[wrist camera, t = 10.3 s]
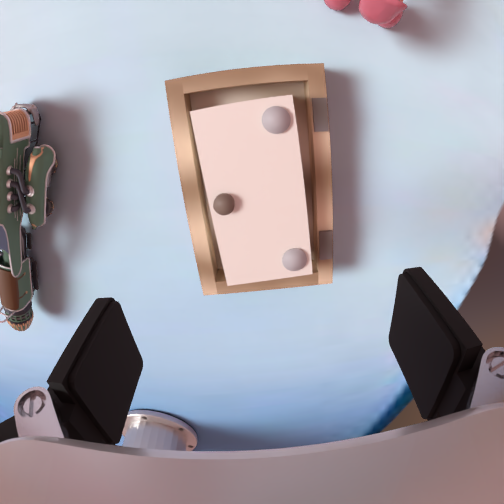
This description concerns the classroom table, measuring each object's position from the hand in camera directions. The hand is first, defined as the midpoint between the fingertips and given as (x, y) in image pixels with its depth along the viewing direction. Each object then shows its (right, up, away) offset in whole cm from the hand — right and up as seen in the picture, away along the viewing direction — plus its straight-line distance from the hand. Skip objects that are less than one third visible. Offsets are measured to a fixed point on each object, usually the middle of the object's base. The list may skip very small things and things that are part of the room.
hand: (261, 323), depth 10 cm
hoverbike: (-24, +5, +17) cm, 30 cm away
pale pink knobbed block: (0, +8, +15) cm, 17 cm away
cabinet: (0, +8, +15) cm, 18 cm away
